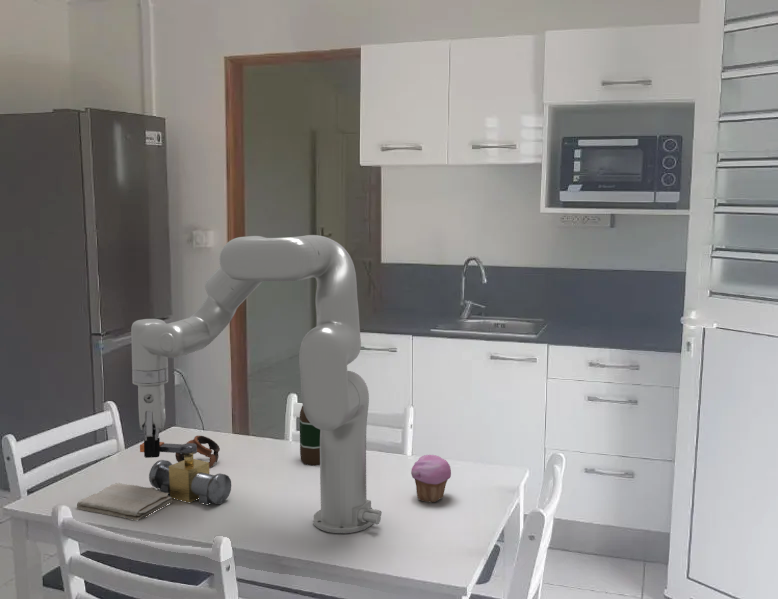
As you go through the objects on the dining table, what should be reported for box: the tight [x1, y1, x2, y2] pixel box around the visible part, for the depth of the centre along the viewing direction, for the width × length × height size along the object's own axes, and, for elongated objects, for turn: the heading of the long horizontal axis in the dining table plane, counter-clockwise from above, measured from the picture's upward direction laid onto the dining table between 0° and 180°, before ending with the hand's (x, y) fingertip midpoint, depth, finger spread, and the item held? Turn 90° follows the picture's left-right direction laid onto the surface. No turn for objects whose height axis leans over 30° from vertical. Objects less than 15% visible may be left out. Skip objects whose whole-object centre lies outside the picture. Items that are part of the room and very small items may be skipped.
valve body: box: [148, 454, 232, 505], centre depth 173 cm, size 19×6×10 cm, turn 59°
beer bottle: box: [299, 405, 320, 466], centre depth 196 cm, size 8×8×24 cm
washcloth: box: [76, 482, 174, 521], centre depth 168 cm, size 12×18×3 cm, turn 68°
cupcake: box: [410, 454, 452, 503], centre depth 171 cm, size 9×9×10 cm
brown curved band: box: [174, 435, 221, 468], centre depth 194 cm, size 12×10×8 cm
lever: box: [139, 441, 198, 455], centre depth 173 cm, size 4×13×2 cm, turn 80°
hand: (152, 456), depth 170 cm, fingers closed
